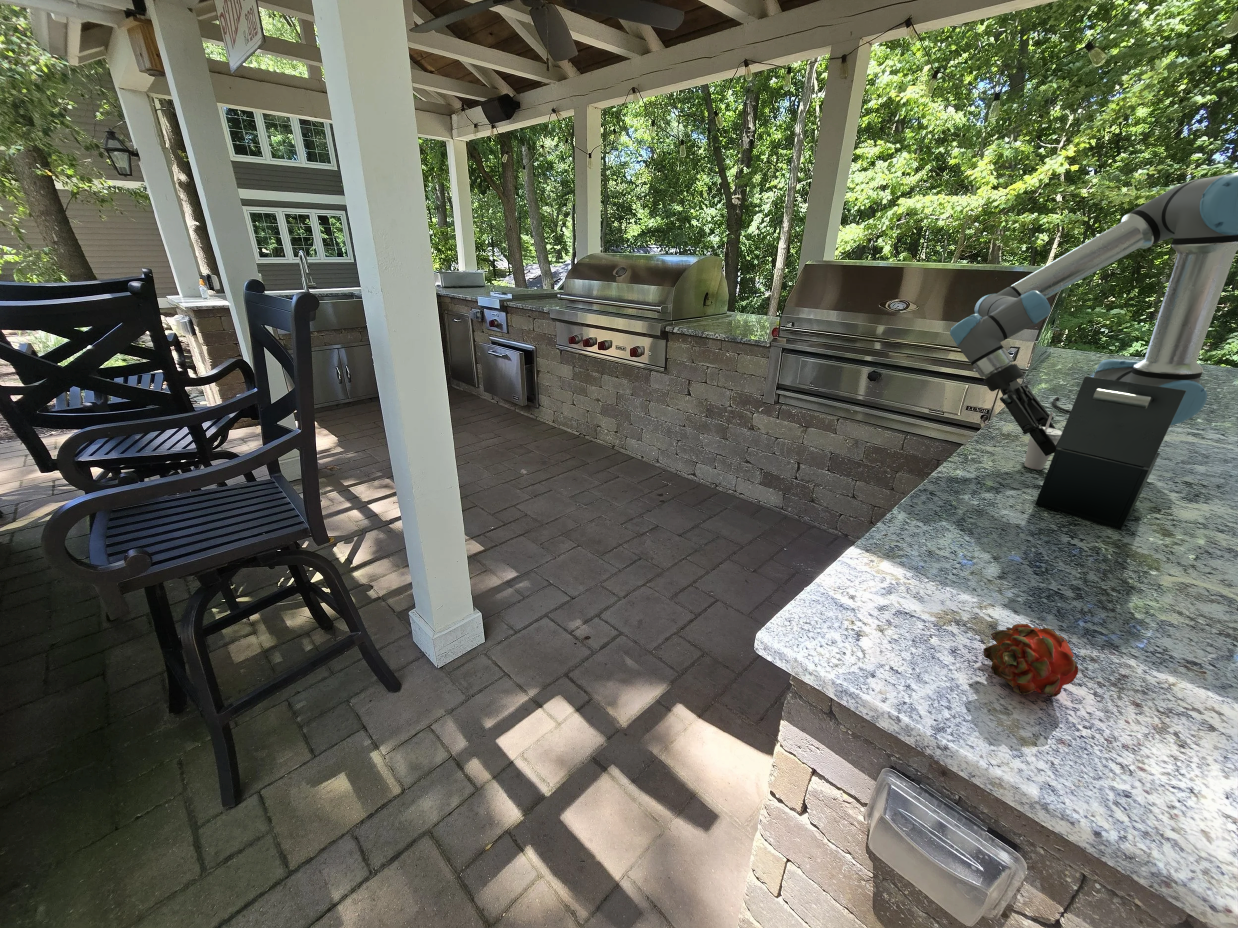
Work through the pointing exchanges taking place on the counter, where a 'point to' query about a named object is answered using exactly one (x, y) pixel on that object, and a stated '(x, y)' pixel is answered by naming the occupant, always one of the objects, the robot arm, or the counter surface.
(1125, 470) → the trash can
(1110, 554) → the counter surface
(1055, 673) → the dragon fruit
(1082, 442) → the trash lid
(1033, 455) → the smoothie
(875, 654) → the counter surface
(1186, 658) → the counter surface
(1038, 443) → the robot arm
